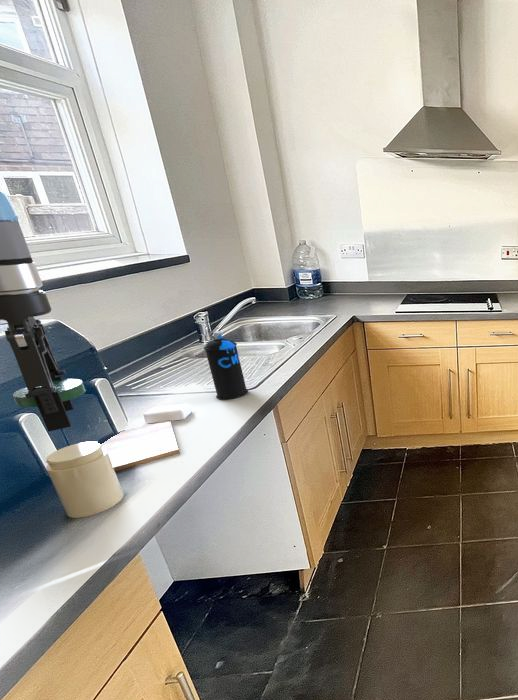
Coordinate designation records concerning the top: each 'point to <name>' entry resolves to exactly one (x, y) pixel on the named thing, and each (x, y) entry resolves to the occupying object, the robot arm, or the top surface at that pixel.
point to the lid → (64, 387)
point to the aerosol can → (225, 367)
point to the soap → (167, 413)
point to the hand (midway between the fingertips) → (61, 419)
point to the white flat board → (141, 445)
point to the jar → (84, 479)
